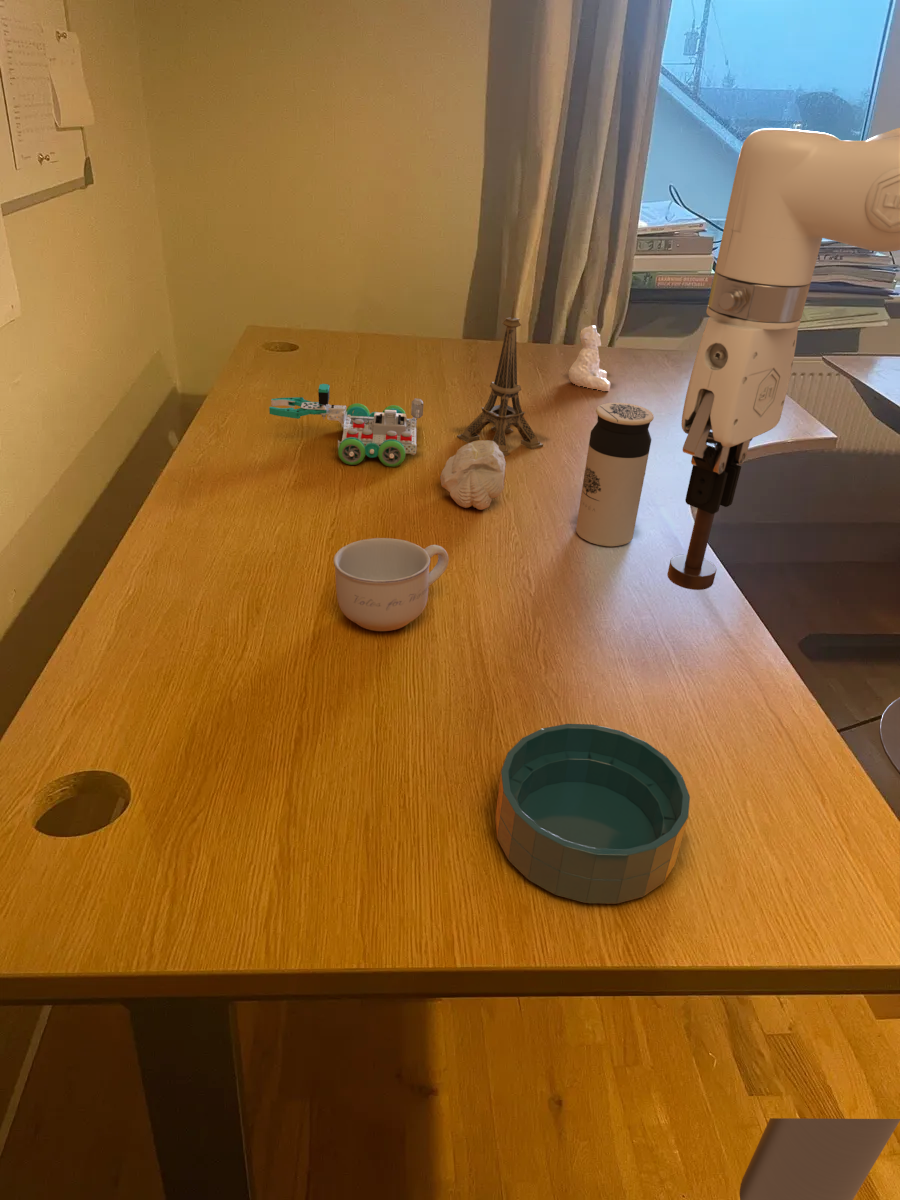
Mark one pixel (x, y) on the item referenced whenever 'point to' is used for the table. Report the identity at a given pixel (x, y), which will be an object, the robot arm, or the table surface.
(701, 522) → the stirring stick
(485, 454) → the fossil replica
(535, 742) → the bowl
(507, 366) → the eiffel tower
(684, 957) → the table surface
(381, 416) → the robot kit
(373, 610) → the teacup
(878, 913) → the table surface
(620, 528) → the travel mug
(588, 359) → the sitting furry creature
